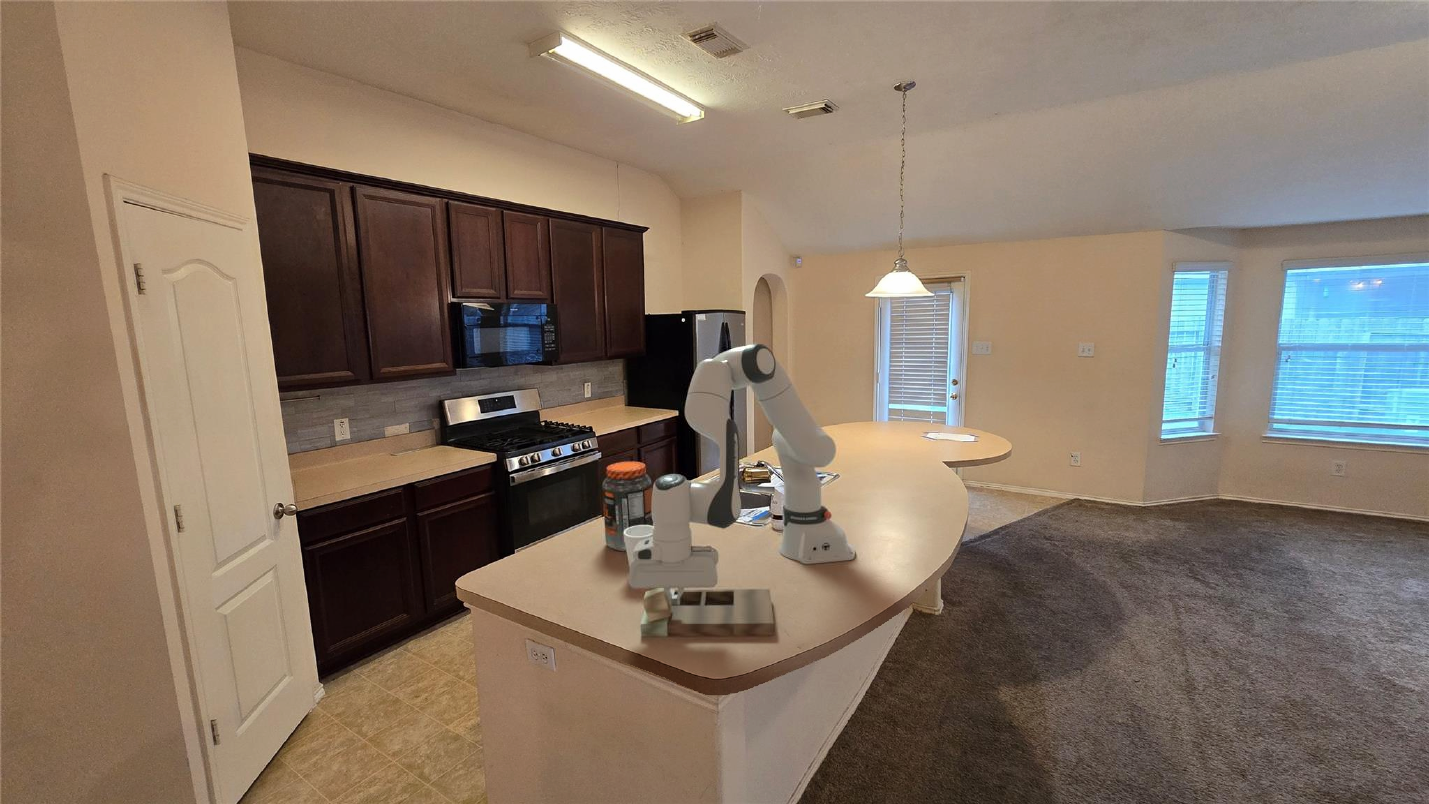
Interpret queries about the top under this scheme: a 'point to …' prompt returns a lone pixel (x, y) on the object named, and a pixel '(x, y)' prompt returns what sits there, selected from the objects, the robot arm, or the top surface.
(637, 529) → the foam cup
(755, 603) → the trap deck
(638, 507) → the supplement tub
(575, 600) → the top surface
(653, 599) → the maple block
